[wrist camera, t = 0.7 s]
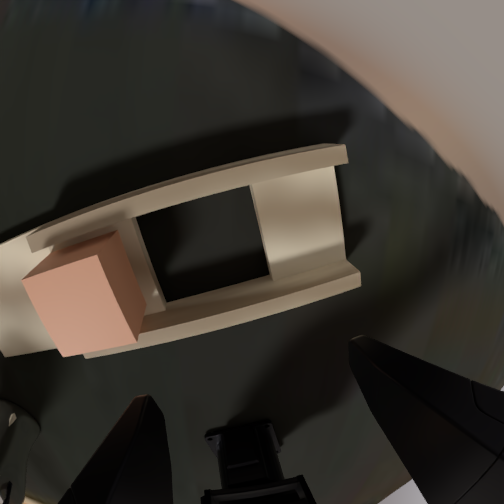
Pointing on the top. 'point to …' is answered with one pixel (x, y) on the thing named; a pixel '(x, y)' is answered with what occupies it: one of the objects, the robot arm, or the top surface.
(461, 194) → the top surface
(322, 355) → the top surface
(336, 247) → the beige open frame tray
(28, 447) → the beer glass
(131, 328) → the block
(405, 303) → the top surface
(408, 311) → the top surface
